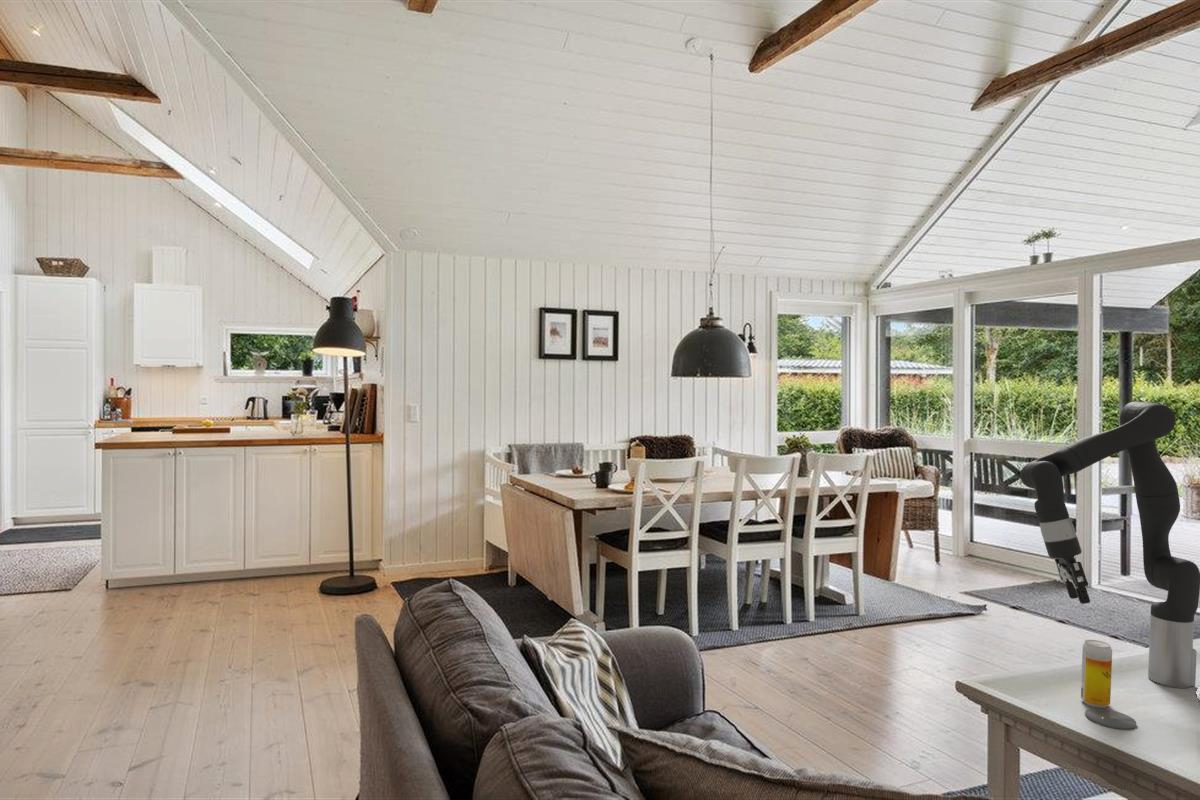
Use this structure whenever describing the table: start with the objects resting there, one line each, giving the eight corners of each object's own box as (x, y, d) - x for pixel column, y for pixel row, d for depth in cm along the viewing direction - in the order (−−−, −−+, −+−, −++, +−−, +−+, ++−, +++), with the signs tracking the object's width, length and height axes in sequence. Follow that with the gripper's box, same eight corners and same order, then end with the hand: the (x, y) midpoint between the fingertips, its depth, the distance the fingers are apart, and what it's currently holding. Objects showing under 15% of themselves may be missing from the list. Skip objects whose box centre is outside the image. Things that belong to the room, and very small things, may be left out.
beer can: (1114, 710, 183) (1117, 648, 183) (1086, 707, 184) (1089, 646, 184) (1103, 699, 189) (1105, 640, 189) (1076, 697, 190) (1078, 638, 190)
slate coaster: (1118, 711, 183) (1118, 708, 183) (1146, 730, 173) (1146, 727, 173) (1075, 709, 183) (1075, 707, 183) (1101, 728, 173) (1101, 726, 173)
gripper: (1084, 536, 188) (1106, 602, 185) (1067, 532, 202) (1087, 593, 199) (1051, 542, 190) (1072, 608, 187) (1036, 538, 203) (1056, 599, 201)
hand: (1080, 600), depth 193 cm, fingers open, 8 cm apart
